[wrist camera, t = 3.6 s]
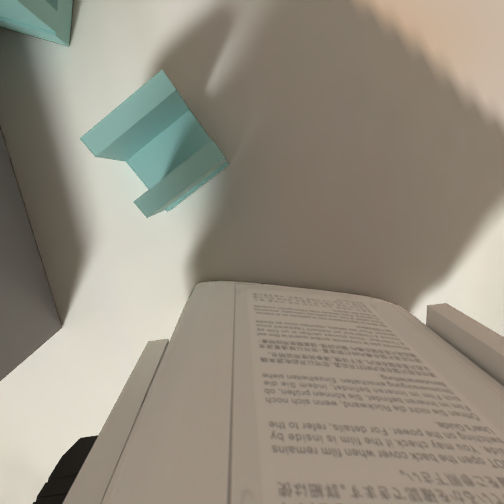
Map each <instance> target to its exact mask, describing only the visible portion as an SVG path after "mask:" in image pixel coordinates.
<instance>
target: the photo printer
mask: <svg viewBox="0 0 504 504" xmlns="http://www.w3.org/2000/svg"><path fill="white" fill-rule="evenodd" d="M101 504H504V386H502V385H501V384H500V383H499V382H497V381H496V380H495V379H494V378H493V377H491V376H490V375H489V374H487V373H486V372H485V371H483V370H482V369H481V368H480V367H478V366H477V365H476V364H474V363H473V362H472V361H471V360H469V359H468V358H467V357H466V356H464V355H463V354H462V353H460V352H459V351H458V350H456V349H455V348H454V347H453V346H452V345H450V344H449V343H447V342H446V341H445V340H444V339H443V338H441V337H440V336H439V335H437V334H436V333H435V332H434V331H432V330H431V329H430V328H429V327H427V326H426V325H425V324H424V323H422V322H421V321H420V320H419V319H418V318H416V317H415V316H413V315H412V314H411V313H410V312H408V311H407V310H405V309H404V308H402V307H400V306H398V305H396V304H393V303H391V302H388V301H385V300H381V299H377V298H373V297H368V296H362V295H355V294H348V293H340V292H332V291H324V290H315V289H306V288H297V287H288V286H278V285H269V284H259V283H248V282H233V281H208V282H201V283H198V284H196V285H195V288H194V290H193V292H192V295H191V296H190V298H189V299H188V301H187V302H186V304H185V306H184V309H183V311H182V313H181V316H180V318H179V320H178V323H177V325H176V327H175V330H174V332H173V334H172V337H171V339H170V342H169V344H168V346H167V349H166V351H165V354H164V356H163V359H162V361H161V363H160V365H159V368H158V370H157V372H156V375H155V377H154V379H153V382H152V384H151V386H150V389H149V391H148V394H147V396H146V398H145V401H144V403H143V405H142V408H141V410H140V413H139V415H138V417H137V420H136V422H135V424H134V427H133V429H132V432H131V434H130V436H129V439H128V441H127V443H126V446H125V448H124V451H123V453H122V455H121V458H120V460H119V462H118V465H117V467H116V470H115V472H114V474H113V477H112V479H111V482H110V484H109V486H108V489H107V491H106V494H105V496H104V498H103V501H102V503H101Z"/></svg>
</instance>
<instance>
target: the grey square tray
mask: <svg viewBox="0 0 504 504" xmlns="http://www.w3.org/2000/svg"><path fill="white" fill-rule="evenodd" d="M61 328H62V326H61V323H60V319H59V316H58V313H57V310H56V306H55V303H54V300H53V297H52V294H51V290H50V287H49V284H48V281H47V277H46V274H45V271H44V268H43V265H42V261H41V258H40V255H39V252H38V248H37V245H36V242H35V239H34V236H33V232H32V229H31V226H30V223H29V219H28V216H27V213H26V210H25V206H24V203H23V200H22V197H21V194H20V190H19V187H18V184H17V181H16V177H15V174H14V171H13V168H12V165H11V161H10V158H9V155H8V152H7V148H6V145H5V142H4V139H3V136H2V132H1V129H0V381H1V380H2V379H3V378H4V377H6V376H7V375H8V374H9V373H10V372H11V371H13V370H14V369H15V368H16V367H17V366H18V365H19V364H21V363H22V362H23V361H24V360H25V359H26V358H28V357H29V356H30V355H31V354H32V353H33V352H34V351H36V350H37V349H38V348H39V347H40V346H41V345H43V344H44V343H45V342H46V341H47V340H48V339H50V338H51V337H52V336H53V335H54V334H55V333H56V332H58V331H59V330H60V329H61Z"/></svg>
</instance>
